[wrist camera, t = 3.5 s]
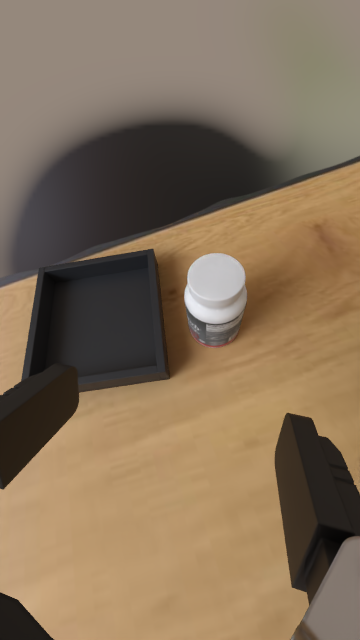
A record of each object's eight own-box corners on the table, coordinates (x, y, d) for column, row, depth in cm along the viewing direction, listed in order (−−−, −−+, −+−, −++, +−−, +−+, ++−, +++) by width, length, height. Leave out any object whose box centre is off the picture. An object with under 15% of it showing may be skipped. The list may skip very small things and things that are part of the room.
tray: (157, 263, 34) (153, 248, 31) (169, 378, 27) (165, 371, 24) (51, 281, 35) (38, 267, 32) (37, 398, 28) (18, 393, 25)
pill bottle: (184, 310, 31) (174, 255, 22) (230, 299, 31) (239, 240, 22) (195, 355, 28) (189, 313, 19) (246, 342, 28) (263, 295, 19)
